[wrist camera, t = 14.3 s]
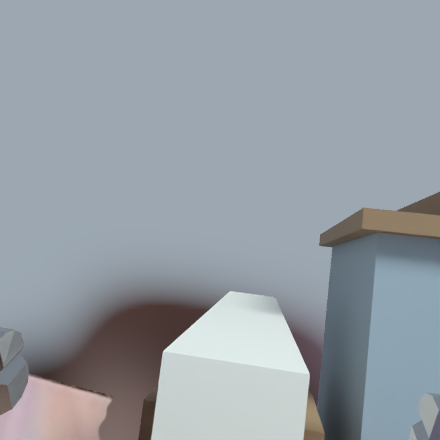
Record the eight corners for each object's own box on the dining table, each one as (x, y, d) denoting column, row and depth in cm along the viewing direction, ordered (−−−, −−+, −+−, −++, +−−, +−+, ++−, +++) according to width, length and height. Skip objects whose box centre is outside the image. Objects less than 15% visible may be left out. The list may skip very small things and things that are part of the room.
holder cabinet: (707, 965, 14) (704, 207, 16) (308, 832, 16) (366, 177, 18) (472, 590, 29) (491, 236, 32) (289, 548, 31) (321, 217, 34)
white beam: (294, 536, 10) (310, 374, 10) (142, 504, 10) (163, 351, 11) (269, 343, 33) (274, 297, 34) (224, 336, 34) (230, 291, 34)
